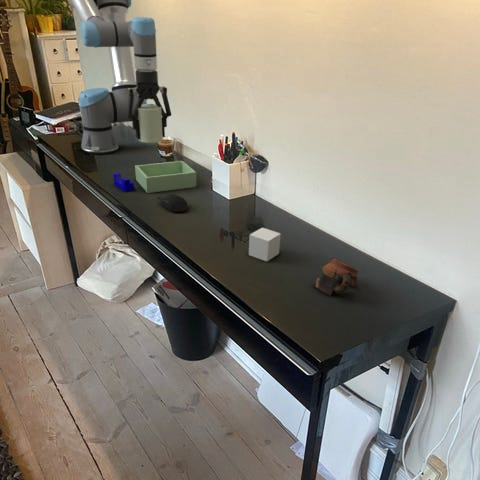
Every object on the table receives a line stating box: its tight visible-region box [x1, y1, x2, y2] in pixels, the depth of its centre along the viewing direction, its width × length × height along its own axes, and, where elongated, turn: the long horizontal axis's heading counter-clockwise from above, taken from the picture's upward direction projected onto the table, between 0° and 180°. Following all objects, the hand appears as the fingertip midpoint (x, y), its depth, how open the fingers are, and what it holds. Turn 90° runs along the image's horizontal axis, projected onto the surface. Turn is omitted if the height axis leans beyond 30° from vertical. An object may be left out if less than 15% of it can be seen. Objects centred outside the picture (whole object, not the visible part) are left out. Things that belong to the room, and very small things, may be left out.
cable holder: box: [112, 172, 135, 193], centre depth 170 cm, size 8×4×4 cm, turn 39°
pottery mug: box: [315, 257, 359, 296], centre depth 117 cm, size 12×10×8 cm
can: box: [137, 103, 164, 144], centre depth 178 cm, size 9×9×12 cm
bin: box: [134, 160, 197, 194], centre depth 174 cm, size 14×18×5 cm
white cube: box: [248, 227, 282, 262], centre depth 131 cm, size 6×6×6 cm
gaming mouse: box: [159, 193, 189, 213], centre depth 158 cm, size 6×15×4 cm, turn 36°
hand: (150, 137), depth 181 cm, fingers closed on can, 9 cm apart
